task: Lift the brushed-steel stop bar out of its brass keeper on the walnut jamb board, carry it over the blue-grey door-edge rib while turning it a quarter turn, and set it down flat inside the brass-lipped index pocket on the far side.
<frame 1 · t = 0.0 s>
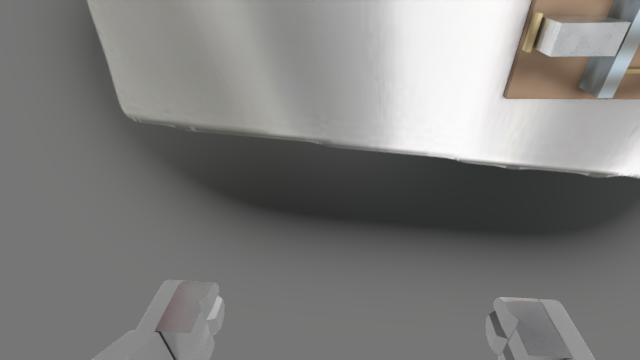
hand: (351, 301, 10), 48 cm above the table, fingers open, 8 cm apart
stop bar: (563, 30, 46), point 1 cm above the table, touching jamb board
jamb board: (603, 28, 47), on the table
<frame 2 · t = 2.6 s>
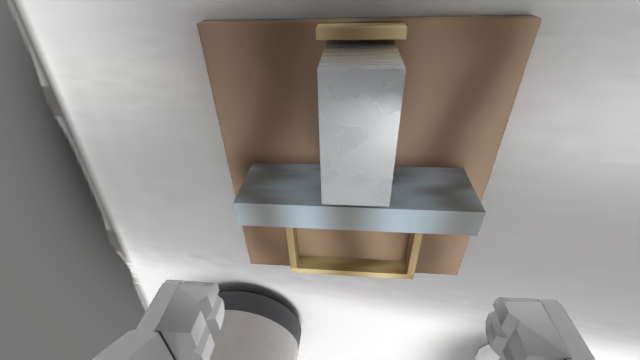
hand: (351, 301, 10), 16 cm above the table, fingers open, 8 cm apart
stop bar: (357, 102, 22), point 1 cm above the table, touching jamb board
jamb board: (354, 167, 26), on the table
vase: (510, 354, 40), on the table
planter: (251, 312, 40), on the table
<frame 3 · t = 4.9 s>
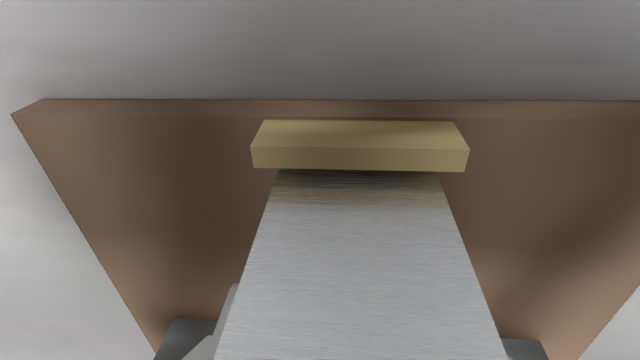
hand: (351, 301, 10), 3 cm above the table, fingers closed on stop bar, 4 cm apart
stop bar: (351, 249, 11), point 1 cm above the table, touching gripper, jamb board
jamb board: (348, 317, 16), on the table
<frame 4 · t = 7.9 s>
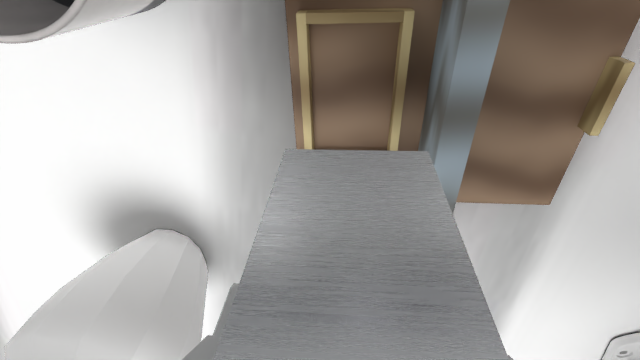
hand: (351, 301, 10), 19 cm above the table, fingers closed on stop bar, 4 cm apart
stop bar: (351, 249, 11), point 17 cm above the table, touching gripper
jamb board: (438, 87, 25), on the table
vase: (173, 253, 38), on the table
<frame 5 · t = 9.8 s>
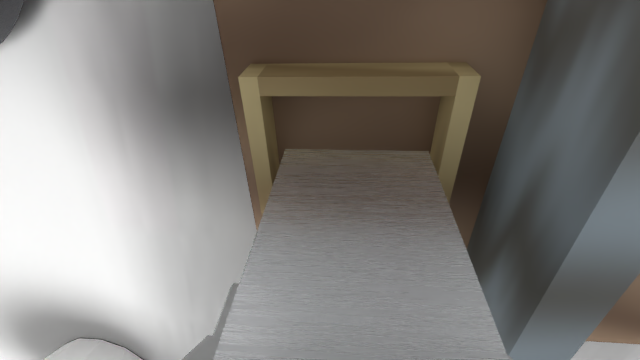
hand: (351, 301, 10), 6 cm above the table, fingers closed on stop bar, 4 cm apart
stop bar: (351, 249, 11), point 4 cm above the table, touching gripper
jamb board: (497, 183, 15), on the table
when the fingers open (5 cm above the table, at t = 11.0 s): stop bar drops 2 cm, resting on jamb board.
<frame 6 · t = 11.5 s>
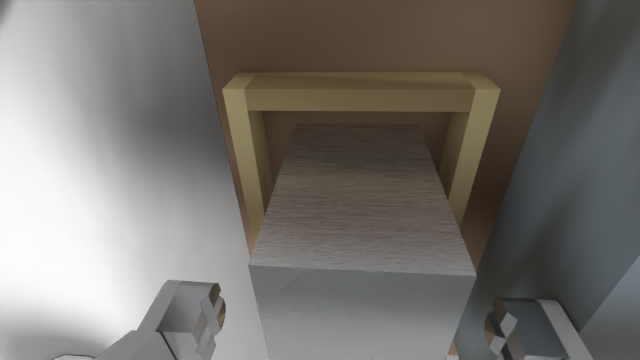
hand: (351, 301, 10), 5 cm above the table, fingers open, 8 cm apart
stop bar: (352, 216, 13), point 1 cm above the table, touching jamb board
jamb board: (510, 200, 13), on the table
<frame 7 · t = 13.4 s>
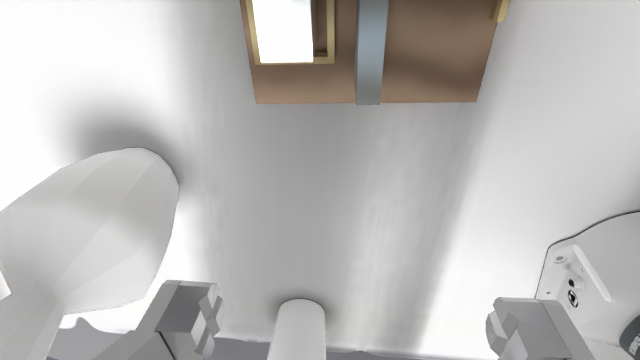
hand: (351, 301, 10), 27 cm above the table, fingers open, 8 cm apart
candle holder: (302, 310, 58), on the table
vase: (146, 174, 41), on the table
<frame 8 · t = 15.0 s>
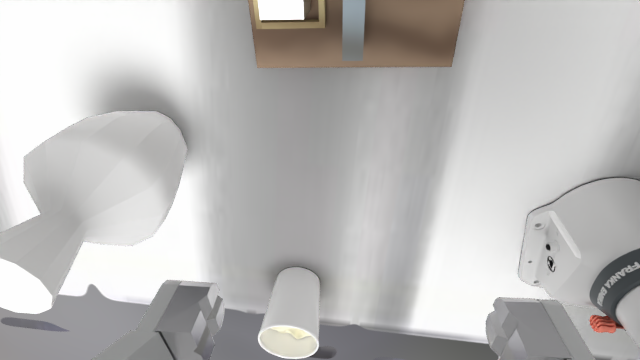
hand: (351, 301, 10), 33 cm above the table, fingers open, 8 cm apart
candle holder: (298, 280, 62), on the table
vase: (159, 137, 46), on the table
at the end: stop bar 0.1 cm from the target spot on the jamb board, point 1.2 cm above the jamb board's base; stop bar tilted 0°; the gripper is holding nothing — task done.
